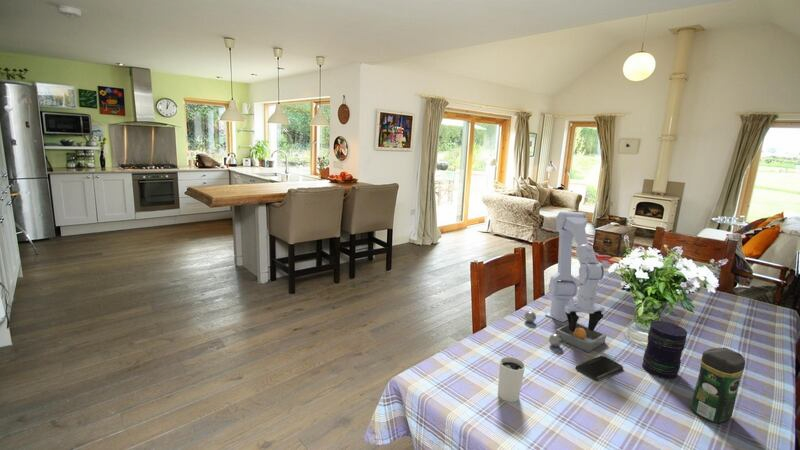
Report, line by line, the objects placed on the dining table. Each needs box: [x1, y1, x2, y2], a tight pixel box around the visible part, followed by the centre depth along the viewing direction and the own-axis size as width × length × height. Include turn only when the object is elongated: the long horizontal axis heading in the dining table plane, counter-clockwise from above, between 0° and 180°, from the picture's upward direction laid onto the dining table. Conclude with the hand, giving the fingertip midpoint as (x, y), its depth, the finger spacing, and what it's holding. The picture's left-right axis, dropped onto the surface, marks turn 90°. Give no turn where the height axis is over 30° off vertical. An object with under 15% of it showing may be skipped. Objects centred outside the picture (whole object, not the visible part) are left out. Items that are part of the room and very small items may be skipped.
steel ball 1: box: [523, 310, 537, 324], centre depth 155 cm, size 4×4×4 cm
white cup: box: [497, 356, 526, 403], centre depth 108 cm, size 7×7×10 cm
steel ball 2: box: [548, 333, 563, 348], centre depth 137 cm, size 4×4×4 cm
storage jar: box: [641, 320, 688, 380], centre depth 124 cm, size 10×10×15 cm
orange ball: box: [573, 328, 586, 340], centre depth 142 cm, size 4×4×4 cm
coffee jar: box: [689, 346, 746, 424], centre depth 105 cm, size 10×8×19 cm
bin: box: [554, 322, 607, 354], centre depth 143 cm, size 13×13×3 cm
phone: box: [575, 355, 624, 382], centre depth 125 cm, size 8×1×15 cm
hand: (581, 330), depth 142 cm, fingers open, 7 cm apart
